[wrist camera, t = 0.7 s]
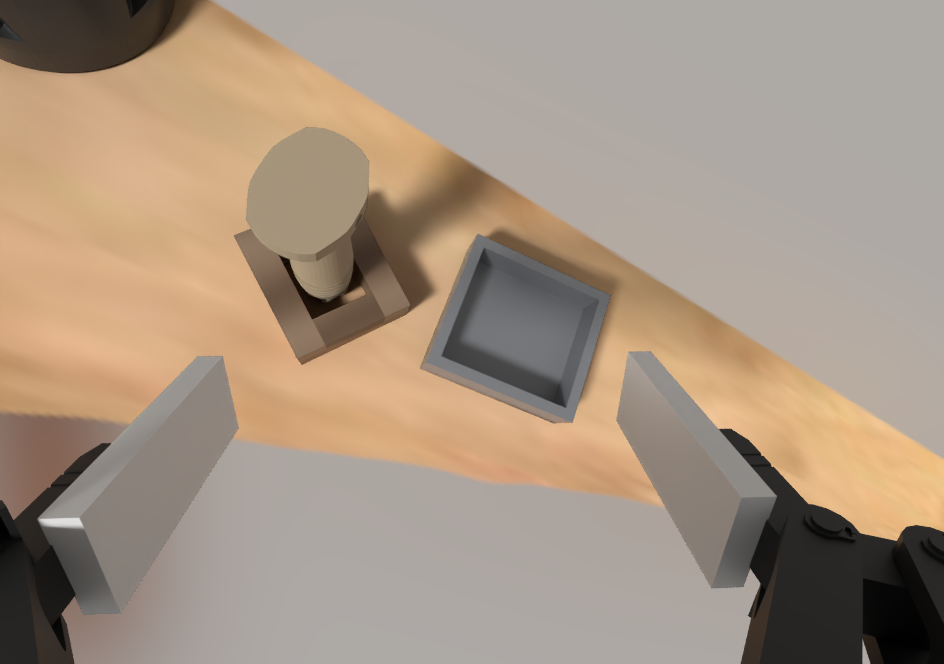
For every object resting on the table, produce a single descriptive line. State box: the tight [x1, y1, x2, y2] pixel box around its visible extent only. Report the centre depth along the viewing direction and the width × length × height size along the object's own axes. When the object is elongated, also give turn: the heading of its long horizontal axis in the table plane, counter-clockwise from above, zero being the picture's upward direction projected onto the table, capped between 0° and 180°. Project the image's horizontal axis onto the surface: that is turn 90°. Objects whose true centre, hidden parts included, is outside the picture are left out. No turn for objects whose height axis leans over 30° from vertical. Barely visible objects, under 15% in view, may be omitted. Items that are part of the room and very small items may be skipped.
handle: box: [246, 127, 369, 303], centre depth 29 cm, size 5×6×15 cm
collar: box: [234, 217, 410, 364], centre depth 35 cm, size 10×8×3 cm
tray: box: [420, 234, 611, 423], centre depth 37 cm, size 12×11×4 cm
